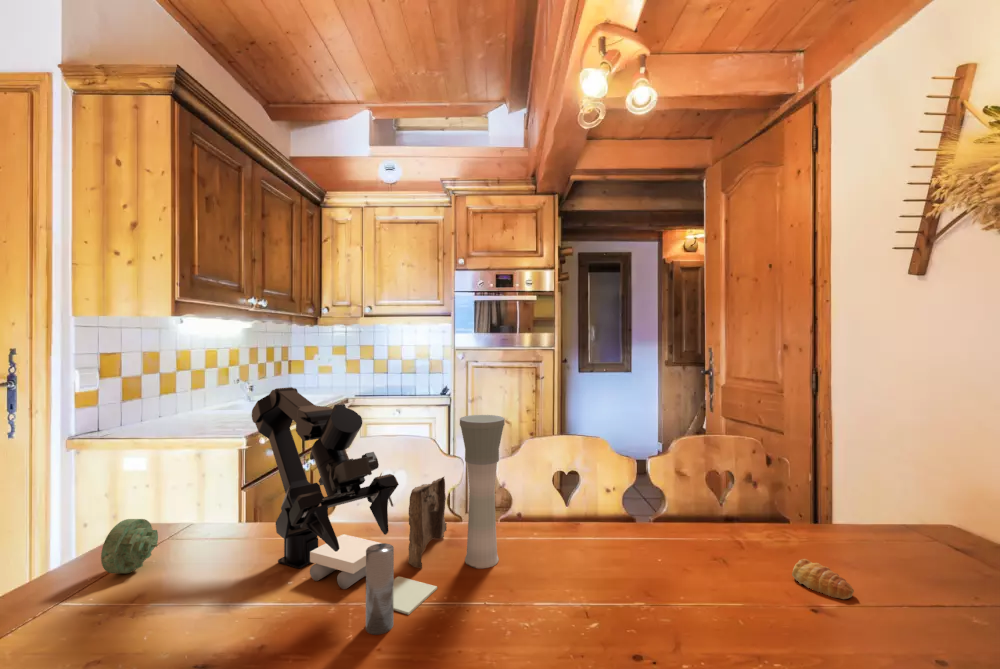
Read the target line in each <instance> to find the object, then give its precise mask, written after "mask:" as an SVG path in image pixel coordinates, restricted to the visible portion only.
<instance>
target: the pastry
mask: <svg viewBox="0 0 1000 669" xmlns="http://www.w3.org/2000/svg"><path fill="white" fill-rule="evenodd" d="M791 575H792V577H793V578H794V579H795V581H796V582H797V581H798V582H799V583H798V582H797V583H798V584H799V585H804V586H805V587H806V588H808V589H809V588H810V590H811V589H813V590H812V591H815V592H817V593H819V592H820V593H819V594H822V593H823V594H822V595H825V596H827V595H828V596H827V597H830V596H831V598H834V599H835V598H837V599H839V600H840V599H841V600H847V599H850V598H852V597H853V594H854V592H855V589H854V588H853V587H852V585H851V584H850V583H849V582H848V581H847V580H846V579H845V578H843V577H841V576H840V574H839V573H837V572H834V571H833V570H832V569H831V568H830V567H828V566H825V565H822V564H821V563H819V562H812V561H811V560H809V559H807V558H802V559H799V560H798V562H796V563H795V565H794V566H793V569H792V574H791Z"/></svg>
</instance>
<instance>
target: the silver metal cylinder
mask: <svg viewBox="0 0 1000 669" xmlns="http://www.w3.org/2000/svg"><path fill="white" fill-rule="evenodd" d="M379 543H380V544H375V545H372V546H370V547H368V548H367V549H366V576H365V632H367V633H368V634H370V635H377V636H378V635H382V634H386V633H387V632H390V631H391V629H393V628H394V611H395V610H394V579H395V578H394V576H395V575H394V570H395V569H394V568H395V567H394V564H395V563H394V562H395V561H394V560H395V559H394V558H395V556H394V555H395V551H394V550H395V547H394V545H393V544H390V543H386V542H384V543H383V542H379Z"/></svg>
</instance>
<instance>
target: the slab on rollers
mask: <svg viewBox="0 0 1000 669" xmlns="http://www.w3.org/2000/svg"><path fill="white" fill-rule="evenodd" d="M336 537H337V540H338V544H339V550H338V551H336V552H335V551H334V550H333V549H332V548H331V547H330V546H329V545H328V544H326V543H324V544H322V545H320V546H318V548H316V549H314V550H312V551H310V562H311V563H312V565H311V566H310V568H309V575H310V577H311V579H312V580H313V581H315V582H317V581H320V580H322V579H323V578H325V577H326V576H328V575H330V574H331V573H333V572H335V571H338V570H339V571H341V572H339V573H338V575H337V577H336V582H337V584H338V587H339V588H341V589H342V590H347V589H348V588H349V587H351V586H352V585H354V584H355V583H357V582H358V581H360V580H362V579H363V578H364V577H366V549H367V548H368V547H370V546H372V545H375V544H380V543H381V542H378V541H374V540H370V539H365V538H361V537H359V536H358V537H357V536H353V535H349V534H344V533H343V534H340V535H339V536H336Z"/></svg>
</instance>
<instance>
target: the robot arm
mask: <svg viewBox="0 0 1000 669" xmlns="http://www.w3.org/2000/svg"><path fill="white" fill-rule="evenodd" d="M251 420H252V422H253V423H254V424H255V426H256V428H257V431H258V433H259V434H261V435H263V436H264V437H266V438H267V439H268V440H269V443H270V447H271V450H272V454H273V457H274V460H275V463H276V466H277V470H278V473H279V476H280V480H281V483H282V486H283V489H284V493H285V495H284V498H283V501H282V503H281V506H280V510H281V511H280V512H279V516H278V517H277V518H276V520H275V530H276V534H277V535H278V536H280V537H281V538H282V539H283V542H284V544H283V550H284V551H283V556H282V557H281V558H278V559H277V563H279V564H282V565H285V566H288V567H293V568H295V569H301V568H304V567H305V566H307V565H308V564H310V563H312V562H310V551H312V550H314V549H316V548H318V547H319V538H320V539H321V540H322V541H323V542H325V543H324V544H328V545H329V546H330V547H331V548H332V549H333V550H334V551H335V552H336V551H338V550H339V544H338V540H337V537H338V536H337V535H336V532H335V530H334V528H333V526H332V523H331V521H330V518H329V509H330V508H333V507H337V506H340V505H344V504H348V503H351V502H355V501H359V500H363V499H367V502H368V503H371V504H370V506H369V509H370V512H371V513H372V516H373V517H374V519H375V521H376V523H377V525H378V527H379V529H380V531H381V532H382V534H383V535H384V536H386V535H387V534H388V533H389V515H388V511H389V510H388V508H389V507H388V505H389V504H388V503H389V499H390V498H391V496H392V494H394V492H395V490H396V489H397V488H398V486H399V482H398V480H397V477H396V476H395V475H394V474H391V473H387V474H384V475H379V476H376V477H374V478H373V480H372V481H371V483H370V484H369V485H367V486H363V487H361V486H362V485H363V484H364V483H365V481H366V478H365V477H367V476H371V475H372V474H373V473H372V471H375V470H376V469H379V466H380V465H379V461H378V457H377V455H376V453H375V452H374V451H370V452H366V453H364V454H363V455H361V457H359V458H349V455H348V453H347V449H348V448H350V446H351V445H352V444H353V442H354V440H355V439H356V437H357V435H358V433H359V432H360V430H361V427H362V426H363V418H362V416H361V415H360V414H359V413H357V412H356V411H355V410H353V409H351V408H347V405H346V403H340V404H334V405H333V407H328V406H322V405H316V404H314V403H312V402H311V401H310V400H309V399H307V398H306V397H305V396H303V395H302V394H300V393H299V392H298V389H297V388H296V387H292V386H291V387H280V388H279V387H277V388H274V389H272V390H271V391H270V393H268V394H267V395H265V396H264V397H262V398H260V399H258V400H257V401H256V403H255V404H254V406H253V408H252V410H251ZM293 421H294V422H295V432H296V433H297V435H298V436H299V438H300V439H301V440H303V441H304V442H306V441H314V440H316V441H314V443H313V444H312V446H311V448H310V454H309V460H310V461H312V460H314V463H315V465H316V468H317V471H318V473H319V476H320V478H318V479H319V480H318V482H313V483H311V482H309V480H308V478H307V474H306V471H305V468H304V466H303V463H302V461H301V457H300V454H299V451H298V448H297V446H296V445H297V444H296V442H295V440H294V437H293V434H292V431H291V425H292V423H293ZM303 441H302V442H303ZM321 486H323V487H324V490H325V494H326V495H327V496H324V495H323V493H322V489H321Z"/></svg>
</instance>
